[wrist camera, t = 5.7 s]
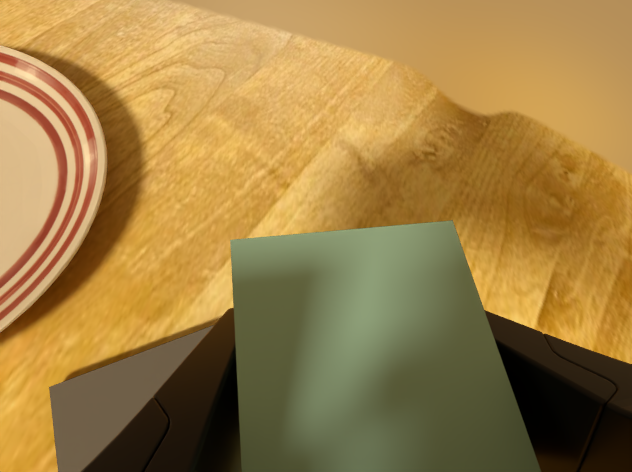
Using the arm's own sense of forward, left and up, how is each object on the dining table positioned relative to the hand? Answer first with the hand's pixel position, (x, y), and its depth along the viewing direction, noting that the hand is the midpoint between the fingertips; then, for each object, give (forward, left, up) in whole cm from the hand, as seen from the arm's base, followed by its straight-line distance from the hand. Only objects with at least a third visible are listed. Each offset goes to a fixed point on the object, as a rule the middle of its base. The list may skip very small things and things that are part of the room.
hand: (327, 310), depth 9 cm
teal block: (-1, +1, -7) cm, 7 cm away
